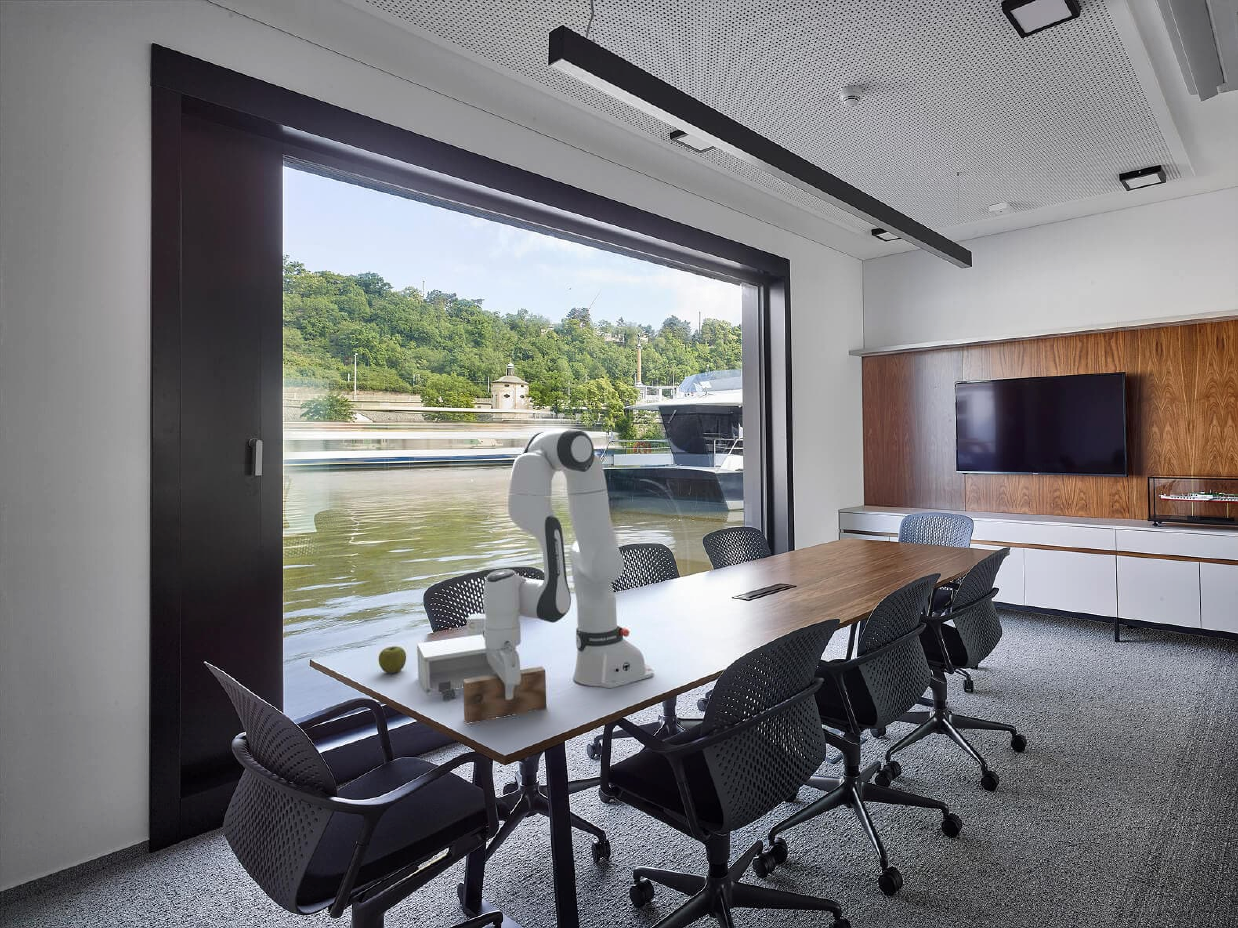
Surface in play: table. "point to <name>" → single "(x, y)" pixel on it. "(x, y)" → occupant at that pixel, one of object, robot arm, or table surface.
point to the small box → (475, 624)
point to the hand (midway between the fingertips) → (504, 692)
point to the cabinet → (451, 663)
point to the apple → (392, 659)
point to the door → (489, 698)
